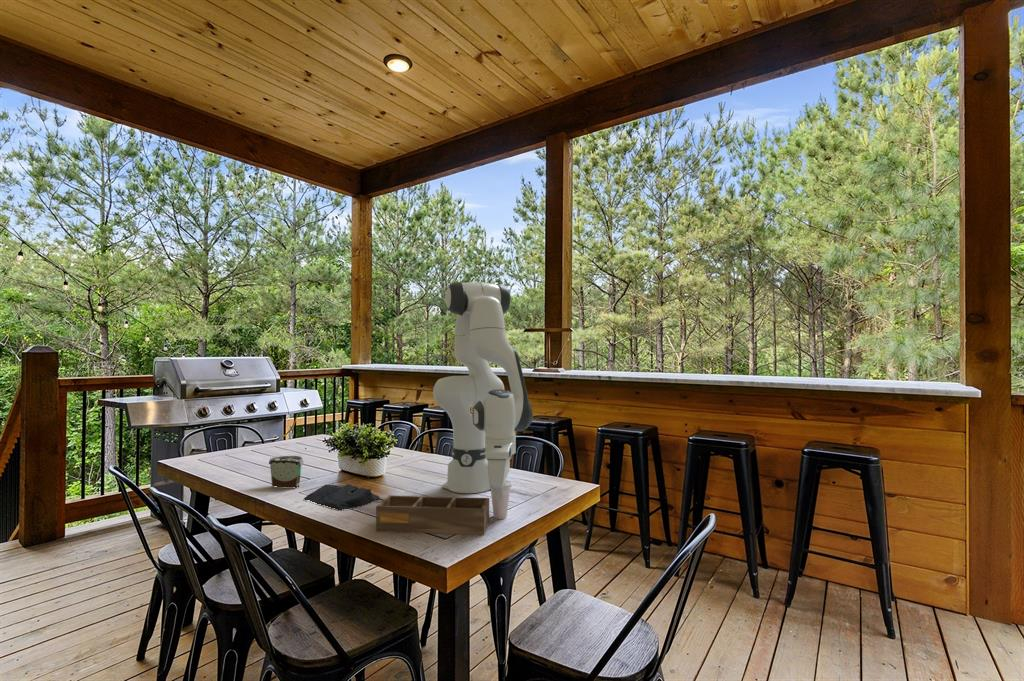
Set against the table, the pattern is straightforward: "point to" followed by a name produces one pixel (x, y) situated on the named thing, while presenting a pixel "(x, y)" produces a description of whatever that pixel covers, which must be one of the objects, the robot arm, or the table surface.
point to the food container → (286, 471)
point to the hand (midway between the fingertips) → (500, 495)
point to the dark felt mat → (342, 496)
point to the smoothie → (501, 501)
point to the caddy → (433, 515)
